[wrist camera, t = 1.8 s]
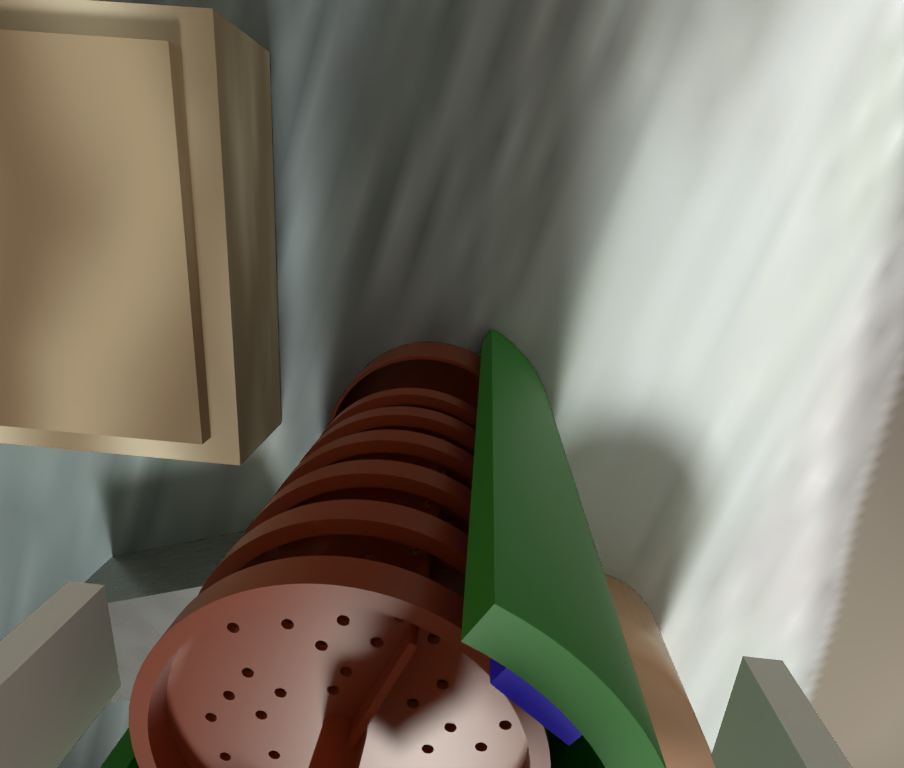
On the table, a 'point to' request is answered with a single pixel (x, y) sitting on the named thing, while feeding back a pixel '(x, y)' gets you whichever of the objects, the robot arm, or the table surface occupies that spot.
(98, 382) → the plinth
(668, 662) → the tan rounded cylinder
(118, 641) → the grey stone block
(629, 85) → the table surface
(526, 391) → the motor
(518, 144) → the table surface
